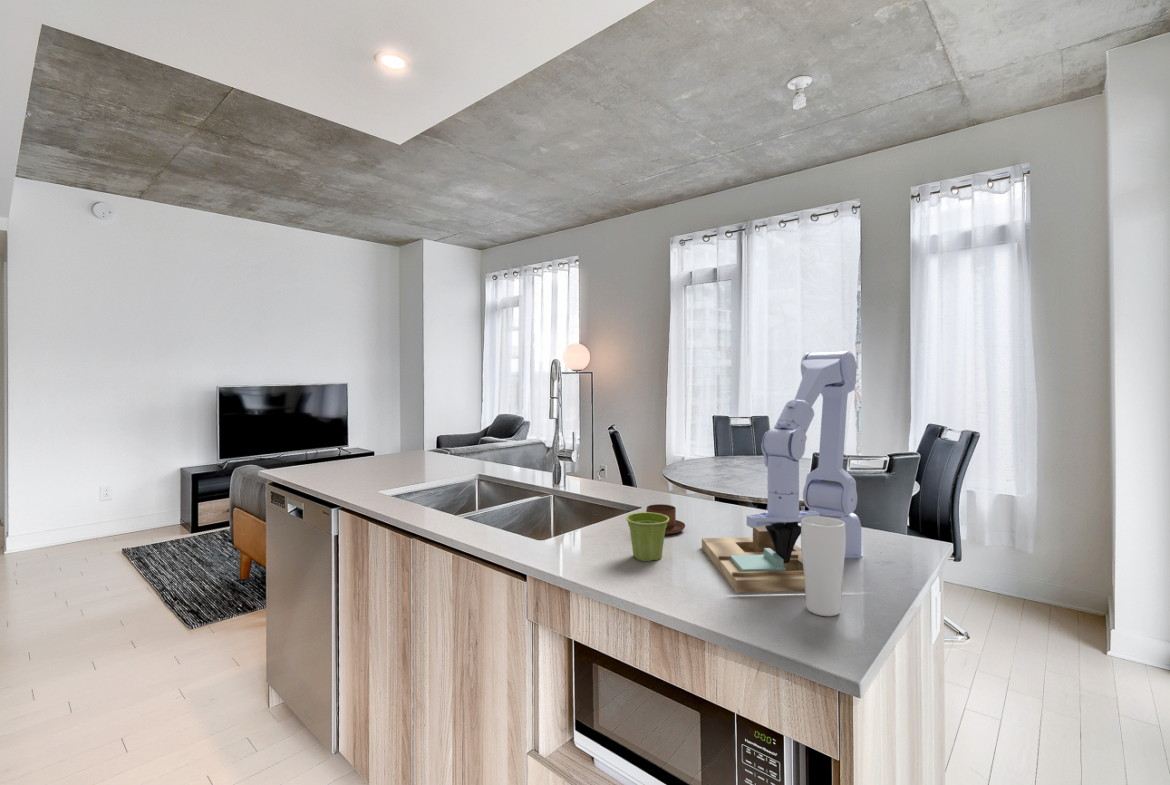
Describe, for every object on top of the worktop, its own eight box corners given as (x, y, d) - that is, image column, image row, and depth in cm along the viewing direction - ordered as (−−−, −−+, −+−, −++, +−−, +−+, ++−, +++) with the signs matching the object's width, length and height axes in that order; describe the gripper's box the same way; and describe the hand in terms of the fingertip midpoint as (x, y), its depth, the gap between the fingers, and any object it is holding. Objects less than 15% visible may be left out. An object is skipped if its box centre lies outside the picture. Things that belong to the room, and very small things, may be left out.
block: (770, 553, 120) (770, 525, 120) (777, 559, 116) (777, 531, 116) (752, 553, 120) (752, 526, 120) (759, 559, 116) (759, 531, 116)
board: (784, 547, 125) (784, 534, 125) (840, 591, 99) (840, 574, 99) (701, 548, 125) (701, 535, 125) (736, 593, 99) (736, 577, 99)
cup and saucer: (628, 532, 139) (627, 508, 139) (654, 523, 148) (654, 500, 148) (668, 541, 131) (668, 515, 131) (694, 530, 140) (693, 506, 140)
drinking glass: (793, 603, 94) (793, 516, 94) (831, 601, 95) (831, 515, 94) (813, 620, 87) (813, 527, 87) (854, 618, 88) (854, 525, 88)
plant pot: (674, 553, 122) (674, 514, 121) (662, 566, 113) (662, 525, 113) (634, 548, 126) (634, 510, 125) (619, 561, 117) (619, 520, 117)
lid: (770, 558, 110) (770, 547, 110) (785, 572, 102) (785, 560, 102) (730, 559, 110) (730, 547, 110) (742, 573, 102) (742, 561, 102)
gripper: (803, 485, 111) (803, 552, 111) (738, 489, 108) (738, 558, 108) (826, 492, 104) (826, 563, 105) (757, 496, 101) (757, 570, 101)
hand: (783, 561), depth 106 cm, fingers closed
